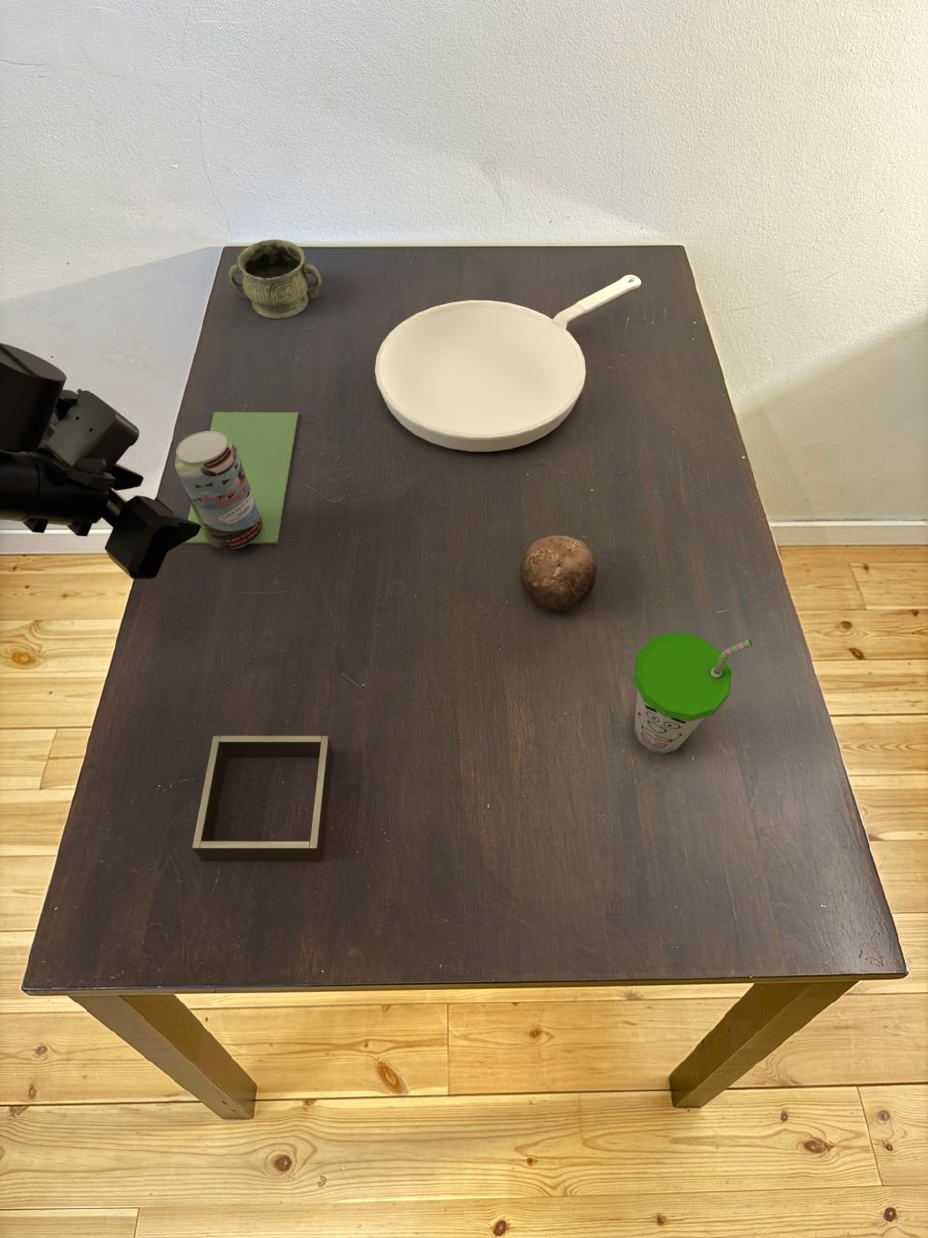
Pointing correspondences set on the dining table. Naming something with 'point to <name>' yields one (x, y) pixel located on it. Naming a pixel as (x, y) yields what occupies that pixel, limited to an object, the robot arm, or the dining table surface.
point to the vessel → (275, 278)
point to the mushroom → (558, 573)
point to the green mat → (259, 463)
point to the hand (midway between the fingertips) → (169, 504)
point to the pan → (485, 371)
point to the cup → (678, 688)
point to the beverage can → (218, 489)
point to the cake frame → (262, 748)
